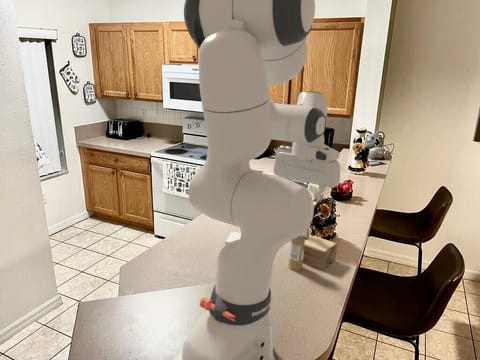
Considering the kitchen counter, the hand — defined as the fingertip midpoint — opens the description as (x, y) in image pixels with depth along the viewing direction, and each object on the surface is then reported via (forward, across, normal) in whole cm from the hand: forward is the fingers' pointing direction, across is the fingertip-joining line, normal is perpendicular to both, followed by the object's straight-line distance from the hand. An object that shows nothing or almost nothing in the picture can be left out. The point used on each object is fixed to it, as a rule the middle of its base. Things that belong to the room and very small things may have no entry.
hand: (303, 195), depth 107 cm
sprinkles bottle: (+24, 0, 0) cm, 24 cm away
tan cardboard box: (+24, +3, +9) cm, 26 cm away
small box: (+24, -13, -14) cm, 31 cm away
